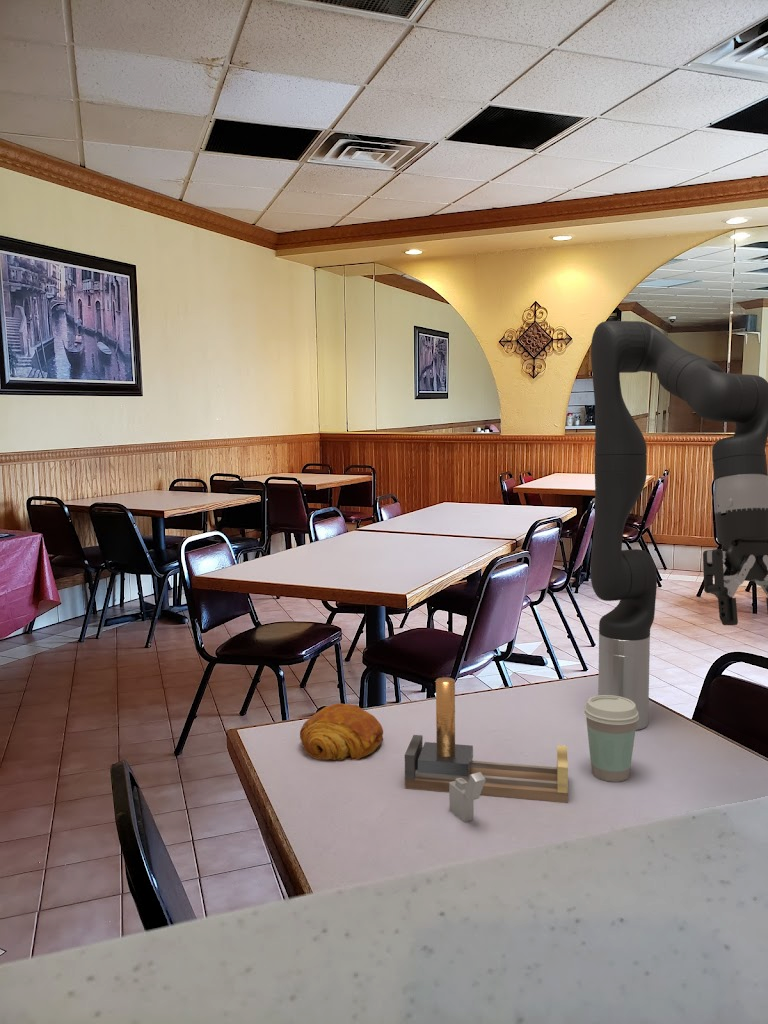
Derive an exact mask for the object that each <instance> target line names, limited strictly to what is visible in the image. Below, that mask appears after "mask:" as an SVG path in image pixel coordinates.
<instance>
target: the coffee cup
mask: <svg viewBox="0 0 768 1024" xmlns="http://www.w3.org/2000/svg"><path fill="white" fill-rule="evenodd" d="M583 714H584V716H585V718H586V720H585V721H586V728H587V738H588V747H589V756H590V766H591V774H592V775H593V776H594V777H595V778H597V779H599V780H602V781H604V782H605V781H606V782H611V783H617V782H623V781H626V780H628V779H629V777H630V773H631V771H630V770H631V764H632V757H633V753H634V752H633V750H634V743H635V736H636V731H637V730H636V723H637V720H638V719H639V715H638V711H637V709H636V705H635V703H634V702H633V701H631V700H629V699H627V698H624V697H620V696H613V695H599V696H598V695H595V696H591V697H589V698H588V700H587V703H586V705H585V706H584V710H583Z"/></svg>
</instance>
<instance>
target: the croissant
mask: <svg viewBox="0 0 768 1024" xmlns="http://www.w3.org/2000/svg"><path fill="white" fill-rule="evenodd" d="M383 735H384V729H383V726H382V724H381V722H379V720H378V719H377V717H375V715H373V714H372V713H370V712H368V711H367V710H364V709H362V708H361V707H360V706H359V705H358V704H348V703H341V702H340V703H335V704H334V703H333V704H331V705H327V706H325V707H323V708H322V709H320V710H318V711H317V712H315V713H314V714H313V715H312V716H311V717H310V718H308V719H307V720H305V722H304V723H303V725H302V726H301V729H300V731H299V739H300V740H301V744H302V748H303V749H304V751H305V752H306V753H307V754H308V755H309V756H310V757H312V758H313V759H316V760H326V761H327V760H333V761H335V760H339V761H341V760H342V761H343V760H345V759H347V760H353V761H354V760H355V761H358V760H360V759H362V758H365V757H367V756H369V755H370V754H372V753H374V752H375V751H376V749H377V748H378V747H379V746H380V745H381V743H382V741H383V740H384V738H383V737H384V736H383Z"/></svg>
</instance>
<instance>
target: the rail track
mask: <svg viewBox="0 0 768 1024" xmlns="http://www.w3.org/2000/svg"><path fill="white" fill-rule="evenodd" d="M423 746H424V744H423V735H422V734H413V735H412V736H411V740H410V742H409V743H408V747H407V749H406V750H405V754H404V788H405V789H410V790H421V791H431V792H440V793H441V792H443V793H444V792H445V793H449V783H450V782H452V781H455V779H456V778H463V779H464V780H465V781H467V782H469V779H470V776H471V775H472V774H474V773H478V772H481V773H482V775H483V776H484V778H485V779H486V780H485V783H484V786H483V789H482V791H481V794H480V796H487V797H498V798H512V799H524V800H533V801H547V802H557V803H567V804H568V801H569V800H568V797H569V796H568V795H569V794H568V793H569V789H568V788H569V786H568V785H569V783H568V782H569V763H568V746H567V745H559V744H557V747H556V766H546V765H536V764H533V765H532V764H521V763H520V764H519V763H507V762H498V761H497V762H495V761H483V760H472V764H471V768H470V772H469V776H457V775H445V774H433V773H421V772H418V758H419V756H420V753H421V751H422V748H423Z"/></svg>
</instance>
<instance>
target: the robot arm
mask: <svg viewBox="0 0 768 1024" xmlns="http://www.w3.org/2000/svg"><path fill="white" fill-rule="evenodd" d="M590 359H591V360H590V361H591V372H592V373H591V374H592V387H593V396H594V415H595V416H594V421H595V422H594V423H595V424H594V425H595V426H594V433H595V435H594V436H595V437H594V488H595V489H594V494H595V495H594V522H593V523H594V524H593V536H592V545H591V556H590V564H589V565H590V570H589V571H590V582H591V586H592V589H593V592H594V593H595V596H597V598H598V599H600V600H602V601H605V602H614V601H616V602H617V601H618V602H619V603H618V604H617V605H616V606H615V607H614V608H613V609H612V610H611V611H609V612H608V613H606V614H604V615H603V616H602V617H601V618H600V619H599V621H598V622H599V623H598V676H597V677H598V682H597V683H598V687H597V688H598V691H597V694H598V695H597V696H599V695H613V696H620V697H624V698H627V699H629V700H631V701H633V702H634V703H635V705H636V709H637V711H638V715H639V719H638V720H637V723H636V731H637V730H638V731H639V730H642V729H644V728H646V727H648V725H649V703H650V700H649V698H650V697H649V695H650V658H651V657H650V655H651V654H650V652H651V651H650V649H651V648H650V646H651V645H650V644H651V643H650V642H651V628H652V625H653V623H654V621H655V613H656V601H657V600H656V599H657V589H658V588H657V587H658V575H657V574H658V573H657V567H656V563H655V560H654V559H653V557H652V555H651V554H650V553H649V552H647V550H644V549H636V548H633V549H632V548H631V549H623V547H622V546H623V534H624V530H625V525H626V522H627V520H628V518H629V516H630V514H631V512H632V510H633V508H634V507H635V505H636V504H637V501H638V500H639V498H640V496H641V494H642V492H643V490H644V487H645V484H646V481H647V473H648V471H647V470H648V469H647V467H648V466H647V465H648V464H647V463H648V458H647V457H648V456H647V455H648V453H647V451H648V448H647V442H646V439H645V436H644V434H643V433H642V431H641V429H640V427H639V425H638V424H637V422H636V421H635V419H634V417H633V416H632V414H631V413H630V411H629V409H628V407H627V405H626V403H625V401H624V398H623V395H622V394H623V392H622V387H621V378H620V377H621V376H620V375H621V374H622V373H625V374H627V373H628V374H629V373H631V374H632V373H640V372H645V373H646V372H647V373H652V374H656V377H657V380H658V383H660V385H661V386H662V388H663V389H664V390H665V391H667V392H668V393H670V394H672V395H673V396H675V397H677V398H679V399H680V400H683V401H684V402H686V404H688V406H689V407H690V409H692V411H693V412H694V413H695V414H696V415H697V416H699V418H702V419H705V420H707V421H710V422H717V423H735V429H734V430H735V431H734V433H733V435H732V436H728V437H723V438H721V439H719V440H717V441H715V443H714V444H713V446H712V448H711V456H712V457H711V458H712V472H713V480H714V481H713V482H714V483H713V505H714V516H715V517H714V519H715V528H716V529H715V530H716V541H717V543H718V544H719V545H721V548H716V549H715V548H713V549H707V550H704V551H703V553H702V562H703V565H702V567H703V590H704V592H705V593H707V594H711V595H713V596H715V597H716V598H717V603H718V613H719V615H718V617H719V619H720V622H721V624H722V625H723V626H737V625H738V623H739V619H738V608H737V598H736V597H734V596H735V595H736V592H737V590H738V588H739V587H740V585H742V584H743V583H745V582H746V581H747V582H754V583H755V584H756V585H757V586H759V587H761V589H762V590H763V592H764V594H766V596H767V597H765V600H766V610H767V612H766V613H767V614H768V462H767V454H766V453H767V452H766V447H767V441H768V381H767V380H766V379H765V378H764V377H762V376H760V375H755V374H745V373H744V374H742V373H729V372H728V373H727V372H724V370H723V368H722V367H721V366H719V365H718V364H717V363H715V362H714V361H712V360H710V359H708V358H706V357H702V356H701V355H698V354H695V353H693V352H691V351H689V350H686V349H684V348H683V347H681V346H679V345H678V344H676V343H675V342H674V341H673V340H671V339H670V338H669V337H667V336H666V335H665V334H663V332H661V330H659V329H658V328H656V326H653V325H651V324H650V323H648V322H645V321H637V320H630V321H629V320H627V321H626V320H606V321H602V322H600V323H599V324H597V326H596V327H595V329H594V331H593V334H592V337H591V345H590Z"/></svg>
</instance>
